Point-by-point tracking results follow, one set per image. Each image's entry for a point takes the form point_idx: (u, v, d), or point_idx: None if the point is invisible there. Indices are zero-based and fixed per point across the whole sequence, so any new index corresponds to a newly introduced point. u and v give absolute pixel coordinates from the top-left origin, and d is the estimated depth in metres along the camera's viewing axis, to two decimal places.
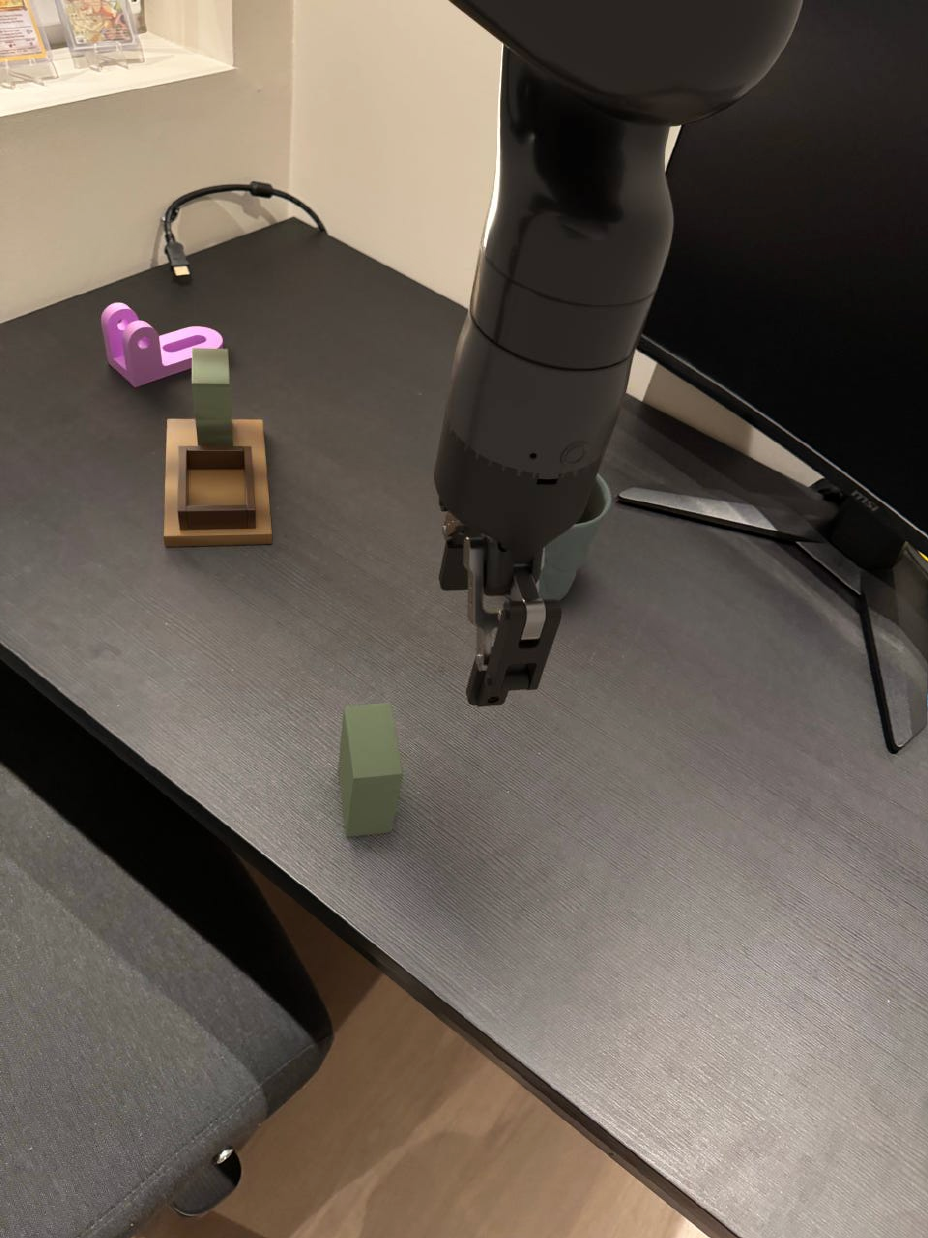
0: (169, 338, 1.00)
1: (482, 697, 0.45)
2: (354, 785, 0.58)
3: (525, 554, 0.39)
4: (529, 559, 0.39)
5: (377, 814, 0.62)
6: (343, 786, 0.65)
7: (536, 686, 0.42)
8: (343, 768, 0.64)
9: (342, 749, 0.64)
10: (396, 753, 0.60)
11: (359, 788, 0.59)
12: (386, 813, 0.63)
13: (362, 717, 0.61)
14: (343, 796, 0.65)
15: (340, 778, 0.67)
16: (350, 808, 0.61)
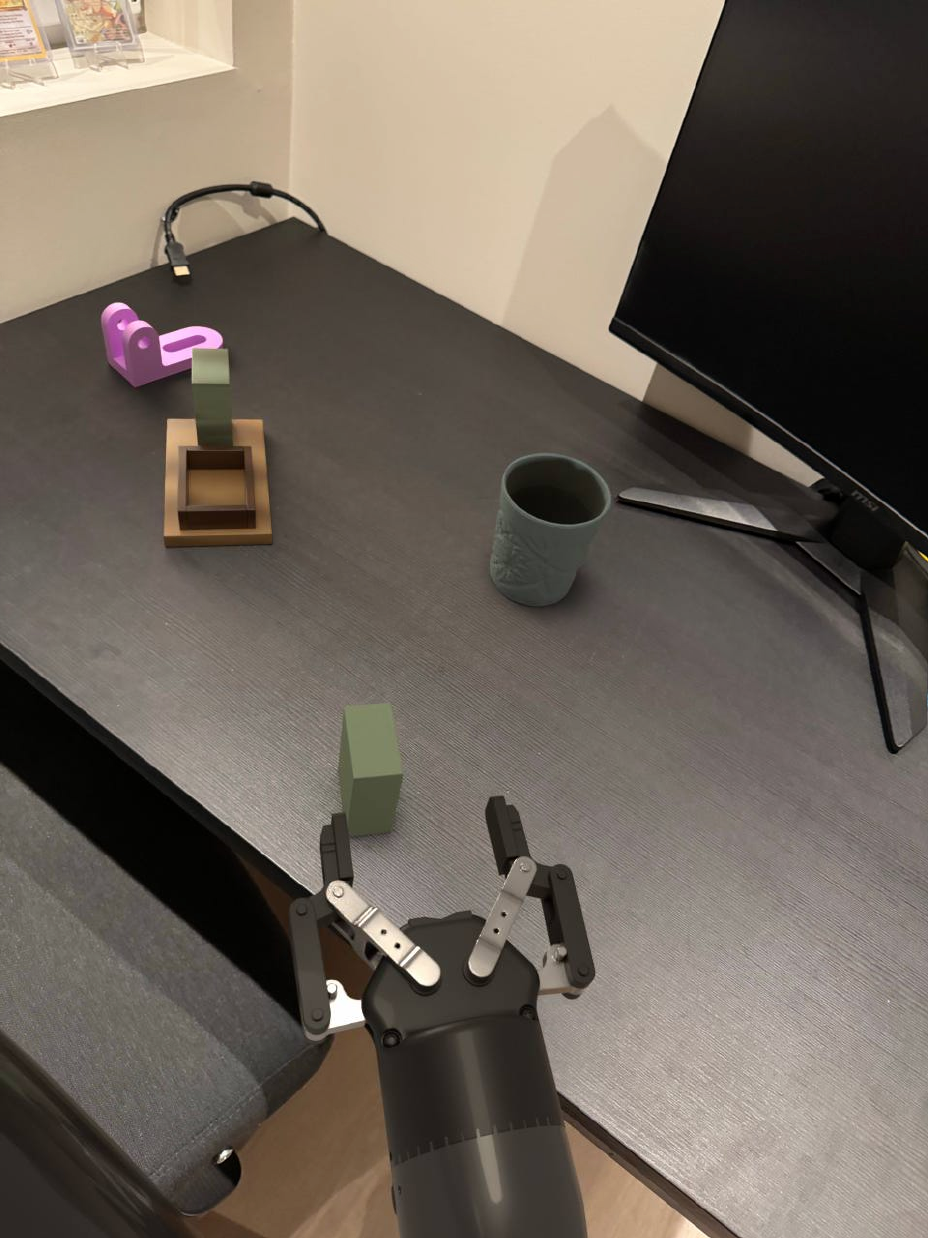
0: (169, 338, 1.00)
1: (321, 846, 0.42)
2: (354, 785, 0.58)
3: (375, 1043, 0.38)
4: (374, 1037, 0.38)
5: (377, 814, 0.62)
6: (343, 786, 0.65)
7: (289, 932, 0.41)
8: (343, 768, 0.64)
9: (342, 749, 0.64)
10: (396, 753, 0.60)
11: (359, 788, 0.59)
12: (386, 813, 0.63)
13: (362, 717, 0.61)
14: (343, 796, 0.65)
15: (340, 778, 0.67)
16: (350, 808, 0.61)
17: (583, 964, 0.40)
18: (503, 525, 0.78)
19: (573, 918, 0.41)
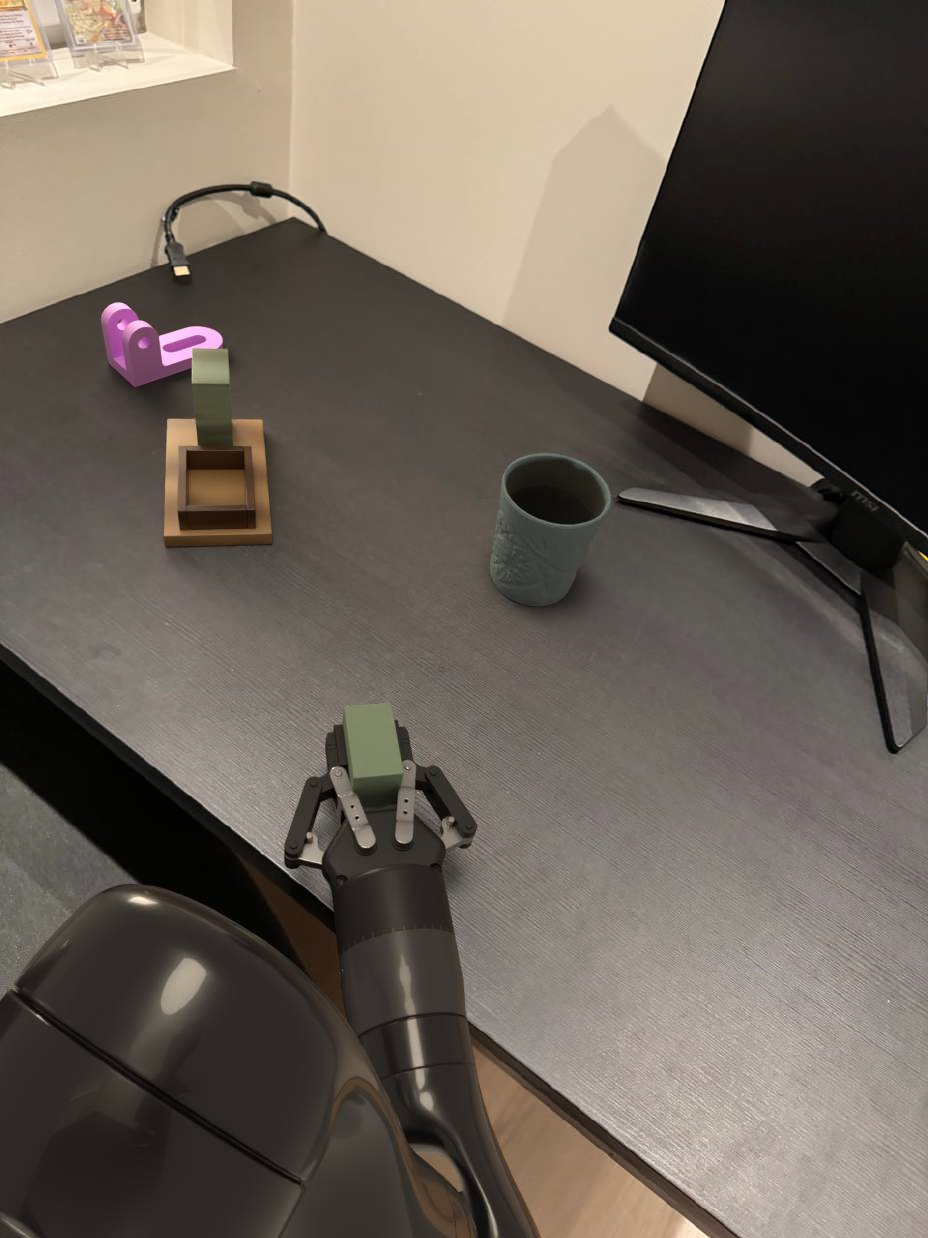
0: (169, 338, 1.00)
1: (326, 746, 0.62)
2: (354, 785, 0.58)
3: (331, 886, 0.56)
4: (330, 883, 0.56)
5: None
6: None
7: None
8: None
9: None
10: (396, 753, 0.60)
11: (359, 788, 0.59)
12: None
13: (362, 716, 0.61)
14: None
15: None
16: None
17: (467, 821, 0.59)
18: (503, 525, 0.78)
19: (450, 796, 0.60)
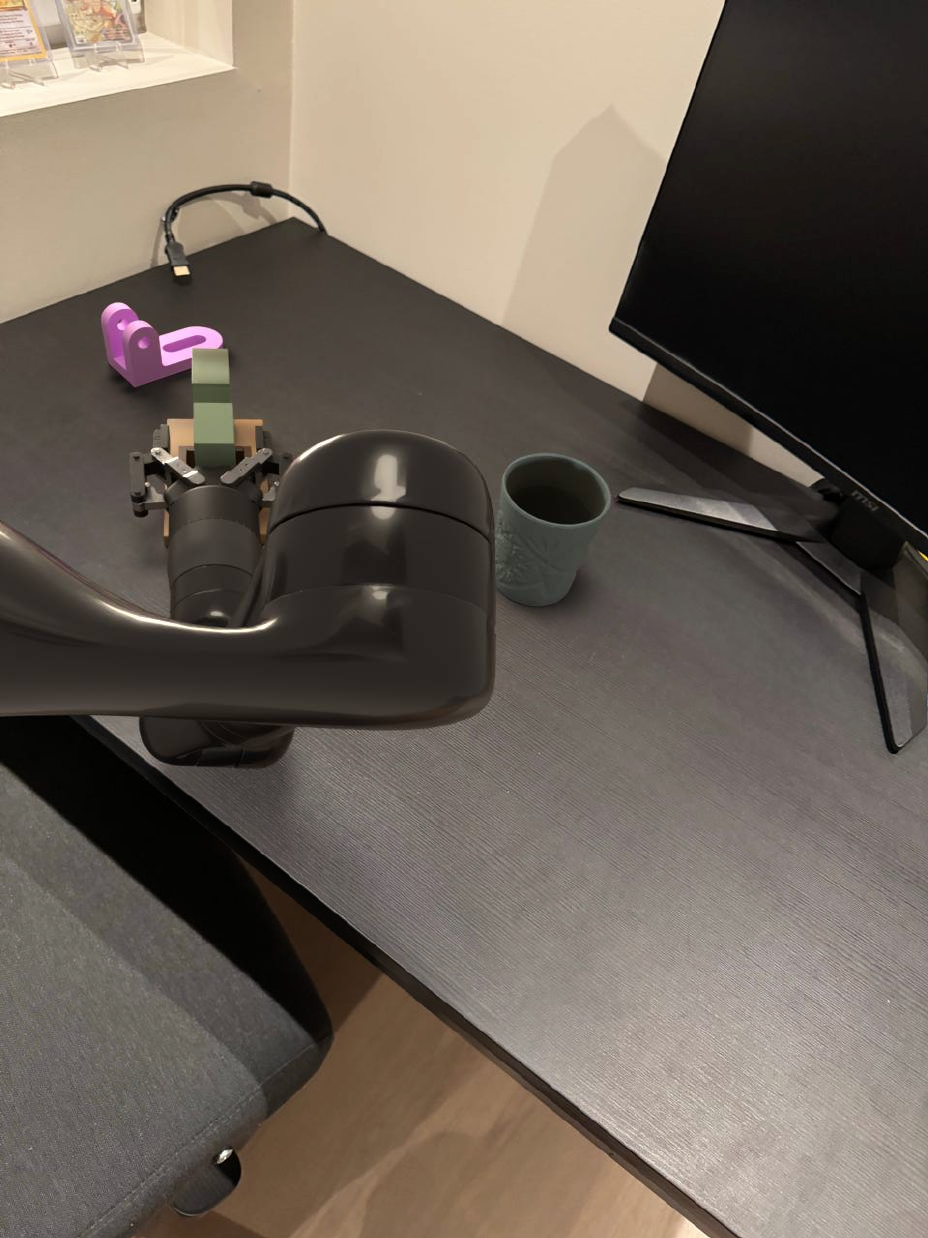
0: (169, 338, 1.00)
1: (153, 437, 0.78)
2: (195, 451, 0.76)
3: None
4: (169, 512, 0.73)
5: None
6: None
7: None
8: None
9: None
10: (230, 431, 0.77)
11: (200, 456, 0.76)
12: None
13: (207, 409, 0.78)
14: None
15: None
16: None
17: None
18: (503, 525, 0.78)
19: None
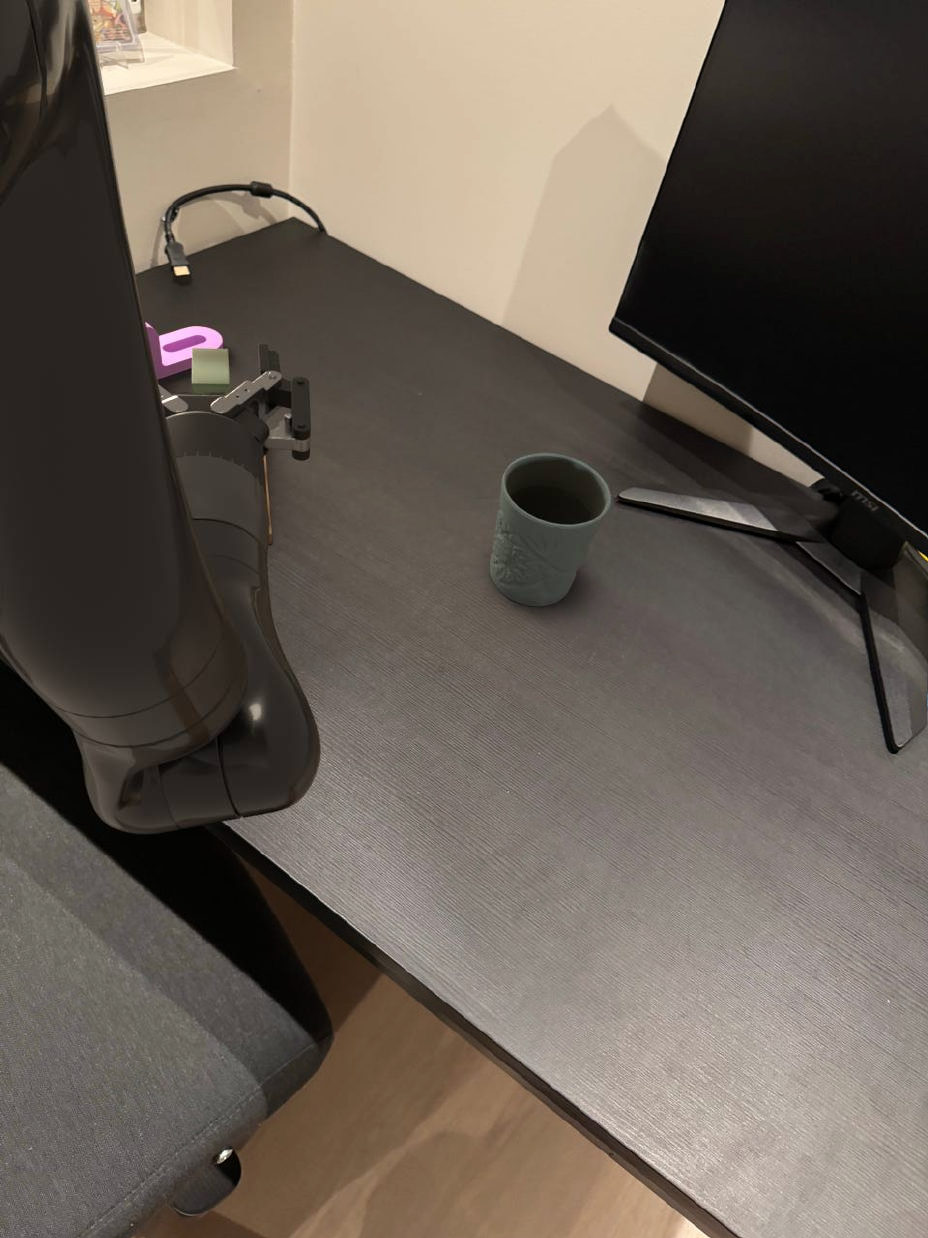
0: (169, 338, 1.00)
1: None
2: None
3: None
4: None
5: None
6: None
7: None
8: None
9: None
10: None
11: None
12: None
13: None
14: None
15: None
16: None
17: (302, 421, 0.54)
18: (503, 525, 0.78)
19: (302, 401, 0.56)
